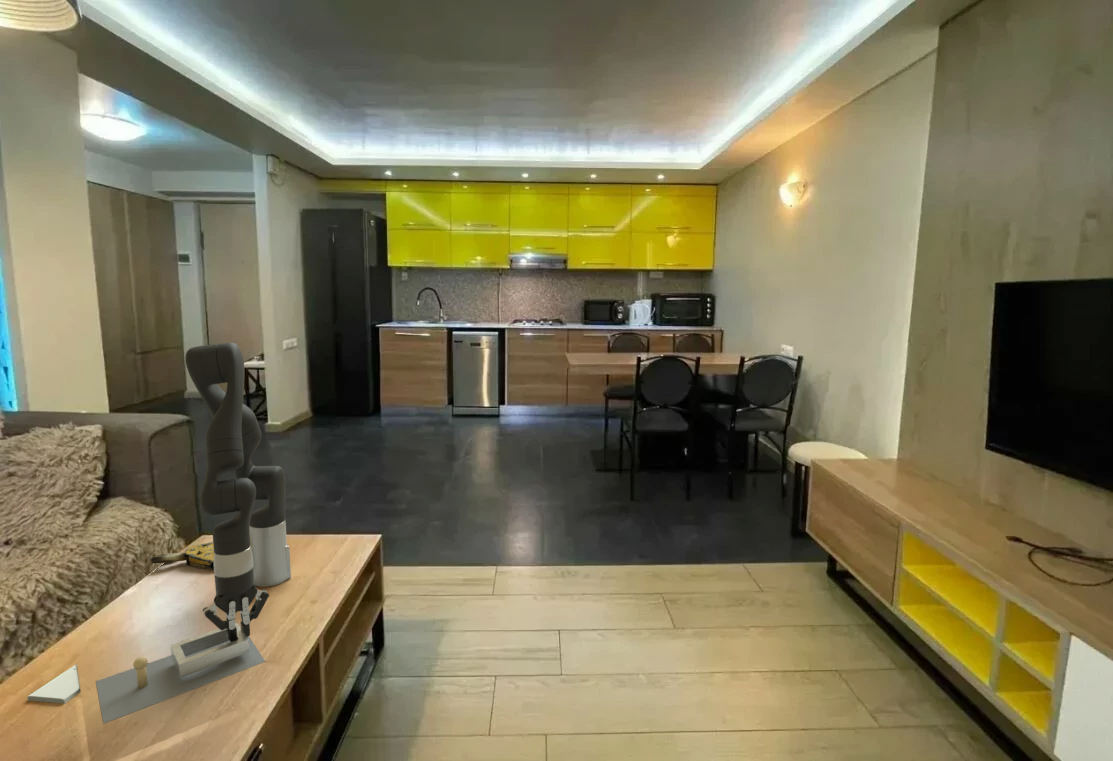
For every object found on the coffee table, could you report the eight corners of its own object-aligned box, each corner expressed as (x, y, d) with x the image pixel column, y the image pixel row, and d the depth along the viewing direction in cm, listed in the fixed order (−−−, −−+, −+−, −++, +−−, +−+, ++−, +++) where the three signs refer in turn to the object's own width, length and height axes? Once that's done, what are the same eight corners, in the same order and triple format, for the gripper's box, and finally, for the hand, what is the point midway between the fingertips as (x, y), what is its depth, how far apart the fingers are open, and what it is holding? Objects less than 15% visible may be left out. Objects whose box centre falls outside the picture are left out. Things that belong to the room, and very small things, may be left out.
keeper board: (245, 634, 138) (243, 605, 137) (265, 666, 126) (263, 635, 125) (96, 686, 119) (92, 653, 118) (104, 729, 107) (100, 693, 106)
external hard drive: (27, 703, 115) (84, 664, 127) (65, 706, 114) (118, 666, 126) (26, 695, 115) (84, 657, 127) (64, 698, 114) (118, 659, 126)
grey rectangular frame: (238, 634, 133) (237, 622, 133) (249, 652, 127) (248, 639, 126) (171, 657, 125) (170, 644, 124) (180, 678, 118) (178, 664, 118)
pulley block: (159, 537, 177) (265, 529, 184) (162, 553, 179) (267, 545, 186) (139, 564, 164) (254, 555, 171) (142, 581, 166) (256, 571, 173)
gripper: (262, 552, 134) (266, 621, 137) (194, 571, 125) (200, 644, 127) (272, 564, 129) (277, 635, 131) (202, 584, 119) (208, 660, 122)
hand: (239, 640), depth 129 cm, fingers closed on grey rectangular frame, 1 cm apart
